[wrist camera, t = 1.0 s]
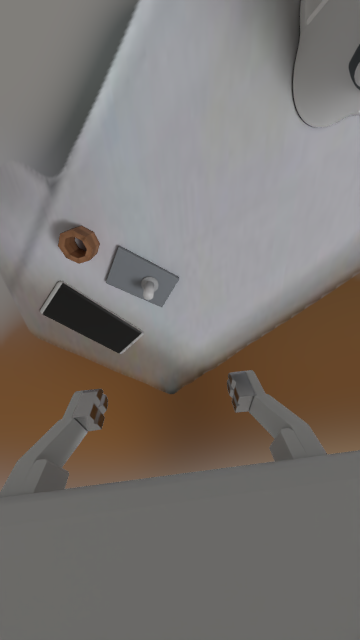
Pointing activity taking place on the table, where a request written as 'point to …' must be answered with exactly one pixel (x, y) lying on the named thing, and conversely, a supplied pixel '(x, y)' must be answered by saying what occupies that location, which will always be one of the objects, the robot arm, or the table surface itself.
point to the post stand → (141, 277)
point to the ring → (73, 250)
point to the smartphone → (89, 318)
